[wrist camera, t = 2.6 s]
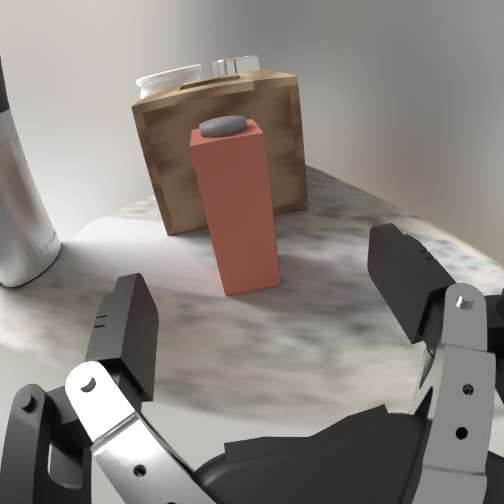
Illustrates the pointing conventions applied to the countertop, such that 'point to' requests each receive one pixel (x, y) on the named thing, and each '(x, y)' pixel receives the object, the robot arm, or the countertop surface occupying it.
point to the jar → (168, 79)
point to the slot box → (210, 107)
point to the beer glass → (235, 65)
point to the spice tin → (237, 201)
